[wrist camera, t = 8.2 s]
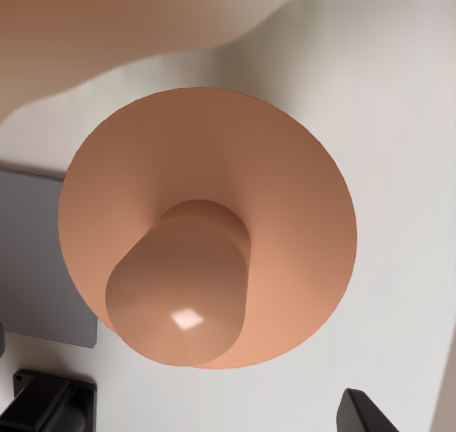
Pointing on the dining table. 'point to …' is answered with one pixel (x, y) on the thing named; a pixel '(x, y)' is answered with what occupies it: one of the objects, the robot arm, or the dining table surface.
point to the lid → (207, 228)
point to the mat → (38, 265)
